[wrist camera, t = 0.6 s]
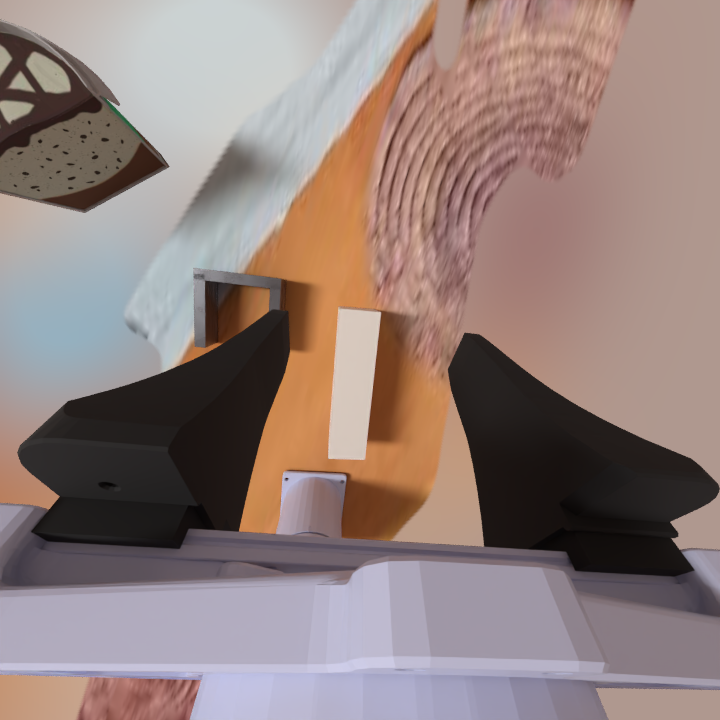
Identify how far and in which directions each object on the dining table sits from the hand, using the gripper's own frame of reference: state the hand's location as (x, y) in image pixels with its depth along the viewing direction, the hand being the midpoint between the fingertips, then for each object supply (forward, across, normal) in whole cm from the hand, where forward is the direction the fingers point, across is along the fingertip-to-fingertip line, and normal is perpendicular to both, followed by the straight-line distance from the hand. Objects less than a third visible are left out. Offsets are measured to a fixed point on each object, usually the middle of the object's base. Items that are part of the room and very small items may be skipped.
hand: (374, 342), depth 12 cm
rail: (+15, 0, +16) cm, 22 cm away
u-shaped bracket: (+17, +12, +10) cm, 23 cm away
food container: (+22, +25, -1) cm, 34 cm away
